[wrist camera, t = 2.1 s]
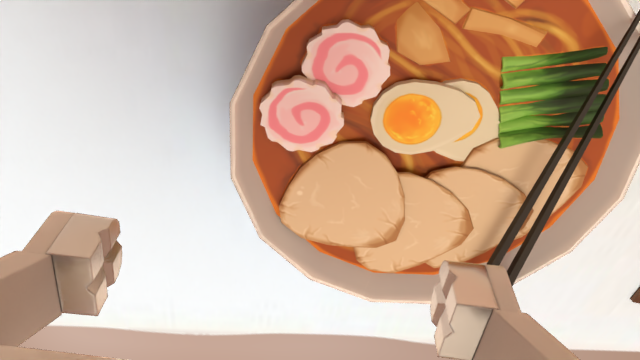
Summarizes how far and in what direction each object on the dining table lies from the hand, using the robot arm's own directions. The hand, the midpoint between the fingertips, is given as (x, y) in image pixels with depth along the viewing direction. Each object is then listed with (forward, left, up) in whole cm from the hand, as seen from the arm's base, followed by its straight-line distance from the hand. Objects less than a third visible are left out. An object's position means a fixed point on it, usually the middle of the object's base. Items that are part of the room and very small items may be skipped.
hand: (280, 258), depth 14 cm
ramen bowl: (+9, -3, -23) cm, 25 cm away
